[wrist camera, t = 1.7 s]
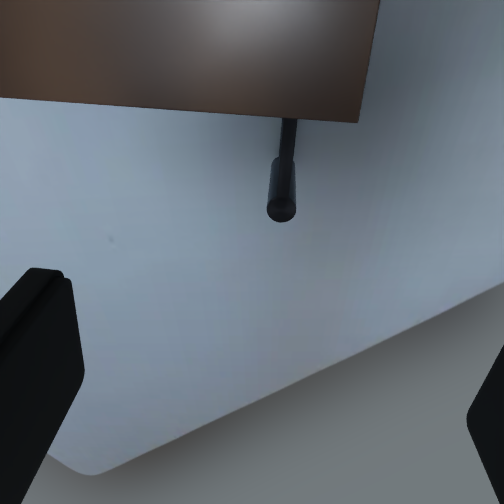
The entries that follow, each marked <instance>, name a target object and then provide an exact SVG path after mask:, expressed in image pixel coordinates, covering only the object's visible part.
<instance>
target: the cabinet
mask: <svg viewBox="0 0 504 504" xmlns="http://www.w3.org/2000/svg"><path fill="white" fill-rule="evenodd" d="M379 5H380V0H0V97H1V98H15V99H29V100H42V101H56V102H70V103H84V104H98V105H112V106H126V107H139V108H153V109H167V110H181V111H195V112H209V113H223V114H236V115H250V116H264V117H278V118H292V119H306V120H320V121H334V122H347V123H358V121H359V116H360V110H361V104H362V99H363V93H364V88H365V82H366V77H367V71H368V66H369V60H370V55H371V49H372V43H373V38H374V32H375V27H376V21H377V16H378V10H379Z"/></svg>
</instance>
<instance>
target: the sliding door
mask: <svg viewBox="0 0 504 504" xmlns="http://www.w3.org/2000/svg"><path fill="white" fill-rule="evenodd" d="M296 128H297V119H292V118H282V127H281V138H280V149H279V156H278V157H277V158H275V159H274V160H273V162H272V165H271V174H270V183H269V192H268V202H267V213H268V215H269V217H270V218H271V219H272V220H274V221H276V222H287V221H289V220H291V219H292V218H293V217H294V215H295V213H296V181H295V163H294V161H293V156H294V147H295V137H296Z"/></svg>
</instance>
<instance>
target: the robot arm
mask: <svg viewBox="0 0 504 504" xmlns="http://www.w3.org/2000/svg"><path fill="white" fill-rule="evenodd" d="M84 372H85V369H84V361H83V355H82V348H81V341H80V335H79V328H78V322H77V315H76V308H75V302H74V295H73V289H72V283H71V280H70V279H68V278H64V275H63V273H62V272H61V271H59V270H51V269H42V268H30V269H29V270H27V271H26V272H25V274H24V275H23V276H22V277H21V278H20V279H19V280H18V281H17V282H16V283H15V285H14V286H13V287H12V288H11V289H10V290H9V291H8V292H7V293H6V294H5V295H4V297H3V298H2V299H1V300H0V504H21V503H22V501H23V499H24V496H25V495H26V493H27V491H28V489H29V487H30V485H31V483H32V481H33V479H34V477H35V475H36V473H37V471H38V469H39V467H40V465H41V463H42V461H43V459H44V457H45V455H46V453H47V451H48V450H49V448H50V446H51V444H52V442H53V440H54V438H55V436H56V434H57V432H58V430H59V428H60V426H61V424H62V422H63V420H64V418H65V416H66V414H67V412H68V410H69V408H70V406H71V404H72V402H73V400H74V398H75V397H76V395H77V393H78V391H79V389H80V387H81V384H82V382H83V378H84ZM467 427H468V430H469V432H470V435H471V437H472V440H473V442H474V444H475V446H476V449H477V451H478V454H479V456H480V458H481V461H482V463H483V465H484V468H485V470H486V472H487V475H488V477H489V480H490V482H491V484H492V487H493V489H494V491H495V494H496V496H497V498H498V501H499V503H500V504H504V345H503V347H502V349H501V351H500V353H499V355H498V356H497V358H496V360H495V362H494V364H493V366H492V368H491V369H490V371H489V373H488V375H487V377H486V379H485V381H484V383H483V384H482V386H481V388H480V390H479V392H478V394H477V395H476V397H475V399H474V401H473V403H472V405H471V406H470V408H469V410H468V413H467Z"/></svg>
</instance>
